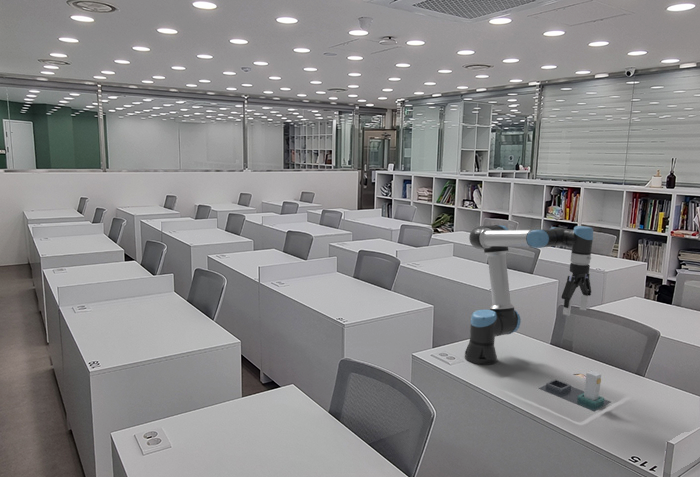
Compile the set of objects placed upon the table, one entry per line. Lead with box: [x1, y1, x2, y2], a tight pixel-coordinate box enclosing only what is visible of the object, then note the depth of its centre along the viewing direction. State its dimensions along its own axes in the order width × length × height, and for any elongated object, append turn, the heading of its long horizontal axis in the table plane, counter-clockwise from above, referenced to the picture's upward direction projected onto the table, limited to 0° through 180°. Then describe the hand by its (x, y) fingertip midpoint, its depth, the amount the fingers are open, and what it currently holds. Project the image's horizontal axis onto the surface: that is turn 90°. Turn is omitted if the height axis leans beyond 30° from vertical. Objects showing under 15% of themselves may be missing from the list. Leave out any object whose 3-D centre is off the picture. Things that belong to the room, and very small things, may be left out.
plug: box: [583, 370, 602, 401], centre depth 206 cm, size 5×4×12 cm
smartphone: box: [573, 373, 586, 380], centre depth 228 cm, size 1×7×15 cm
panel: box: [538, 379, 611, 412], centre depth 213 cm, size 24×14×3 cm, turn 38°
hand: (574, 312), depth 219 cm, fingers open, 13 cm apart
